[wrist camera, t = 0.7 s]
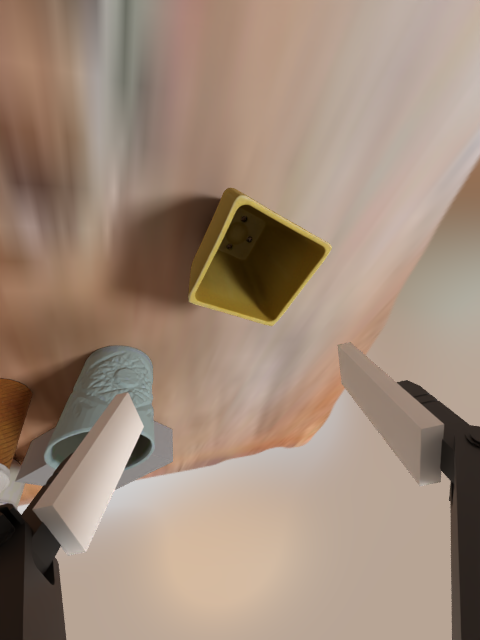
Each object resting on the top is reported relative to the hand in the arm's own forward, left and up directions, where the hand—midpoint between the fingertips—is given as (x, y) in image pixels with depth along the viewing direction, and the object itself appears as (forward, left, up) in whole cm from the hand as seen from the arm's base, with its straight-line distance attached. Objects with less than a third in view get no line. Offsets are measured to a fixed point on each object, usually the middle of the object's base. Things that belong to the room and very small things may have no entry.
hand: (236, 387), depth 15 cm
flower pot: (-1, +5, -16) cm, 17 cm away
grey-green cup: (+6, -18, -16) cm, 25 cm away
